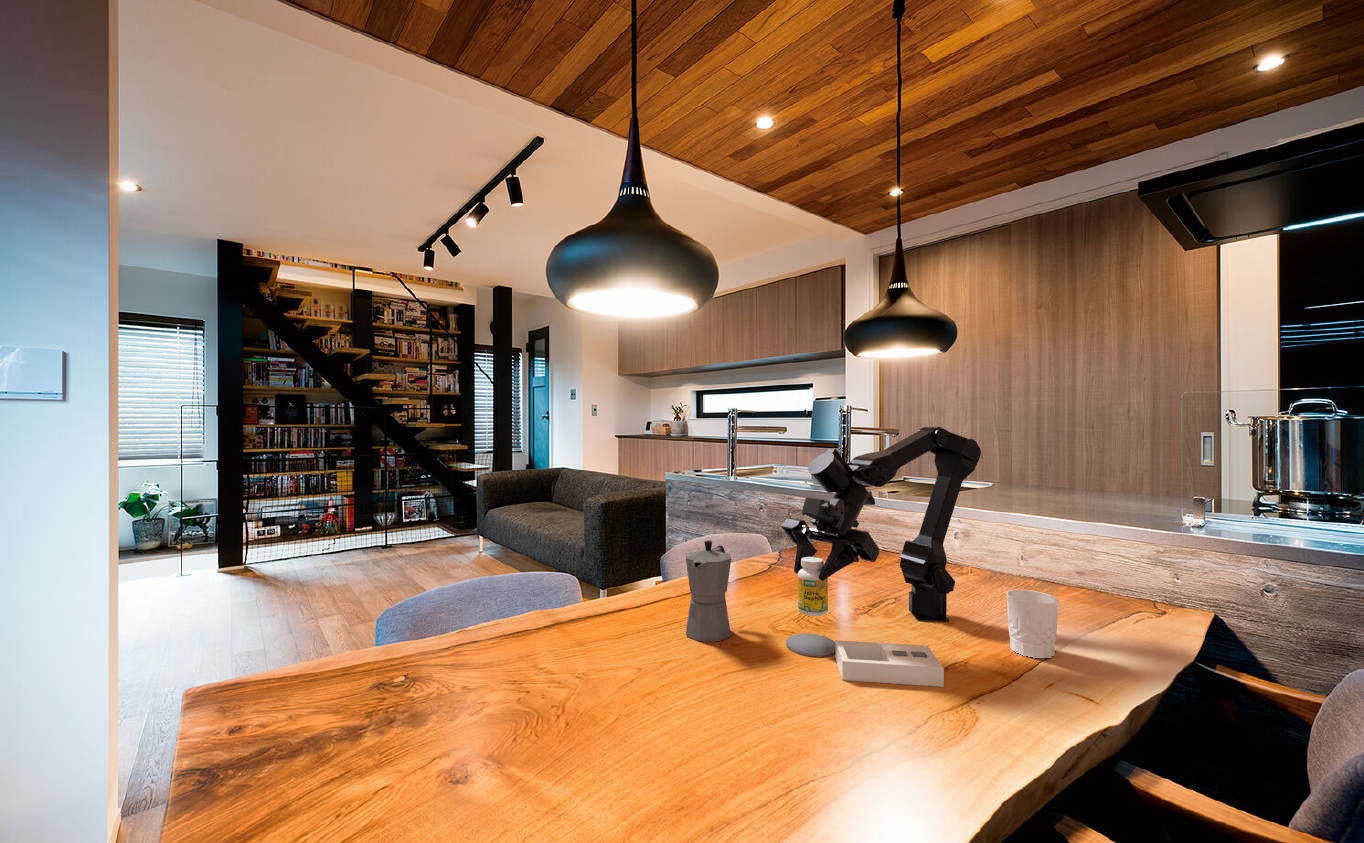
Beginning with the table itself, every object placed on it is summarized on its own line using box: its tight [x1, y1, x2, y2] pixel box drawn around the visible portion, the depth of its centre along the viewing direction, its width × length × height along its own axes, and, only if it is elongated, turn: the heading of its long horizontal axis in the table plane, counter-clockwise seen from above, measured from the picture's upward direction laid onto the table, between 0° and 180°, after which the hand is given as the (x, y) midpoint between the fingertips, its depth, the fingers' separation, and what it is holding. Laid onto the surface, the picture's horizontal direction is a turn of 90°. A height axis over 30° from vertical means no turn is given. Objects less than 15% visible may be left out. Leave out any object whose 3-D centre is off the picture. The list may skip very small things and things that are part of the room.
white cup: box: [1006, 589, 1059, 659], centre depth 99 cm, size 8×8×10 cm
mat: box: [785, 633, 835, 658], centre depth 101 cm, size 9×9×1 cm
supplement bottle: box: [797, 556, 829, 617], centre depth 101 cm, size 5×5×10 cm
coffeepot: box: [685, 540, 732, 643], centre depth 108 cm, size 15×9×18 cm, turn 157°
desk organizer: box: [834, 639, 945, 688], centre depth 91 cm, size 15×8×3 cm, turn 82°
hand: (807, 575), depth 100 cm, fingers closed on supplement bottle, 5 cm apart
